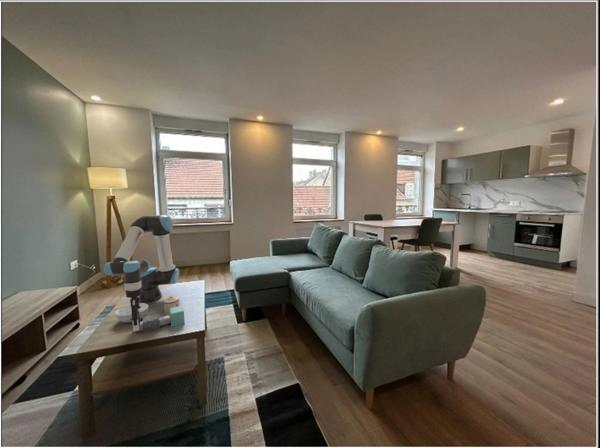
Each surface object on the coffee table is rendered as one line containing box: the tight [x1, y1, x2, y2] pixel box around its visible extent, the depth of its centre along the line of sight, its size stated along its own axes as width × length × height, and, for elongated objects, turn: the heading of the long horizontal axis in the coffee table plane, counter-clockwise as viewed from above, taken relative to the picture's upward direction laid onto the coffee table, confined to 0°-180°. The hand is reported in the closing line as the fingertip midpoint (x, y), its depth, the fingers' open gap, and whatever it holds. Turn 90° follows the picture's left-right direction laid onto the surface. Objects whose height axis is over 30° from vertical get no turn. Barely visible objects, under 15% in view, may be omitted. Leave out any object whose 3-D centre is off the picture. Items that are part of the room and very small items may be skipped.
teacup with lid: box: [163, 294, 180, 316], centre depth 161 cm, size 12×9×12 cm
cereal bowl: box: [115, 302, 149, 323], centre depth 151 cm, size 17×17×7 cm
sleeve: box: [142, 313, 161, 334], centre depth 140 cm, size 7×8×6 cm
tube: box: [132, 311, 171, 333], centre depth 141 cm, size 4×23×10 cm, turn 121°
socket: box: [170, 305, 185, 328], centre depth 147 cm, size 9×7×8 cm
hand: (136, 325), depth 137 cm, fingers open, 13 cm apart
